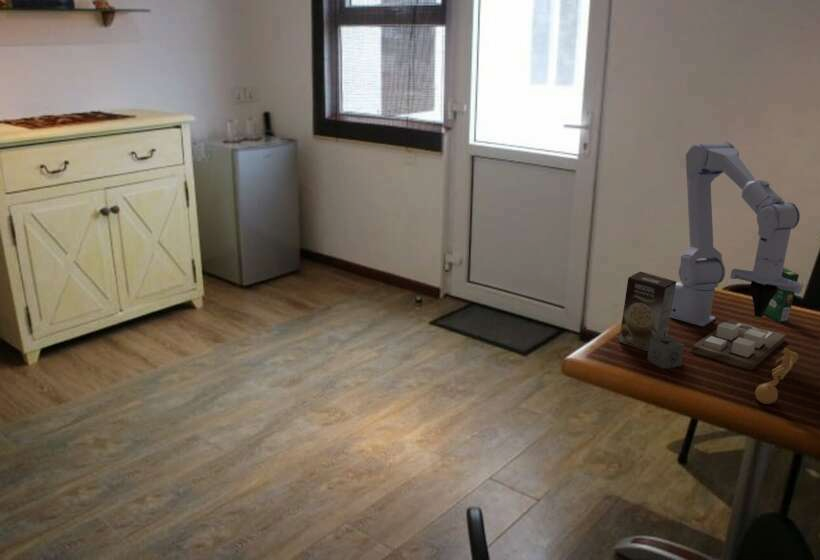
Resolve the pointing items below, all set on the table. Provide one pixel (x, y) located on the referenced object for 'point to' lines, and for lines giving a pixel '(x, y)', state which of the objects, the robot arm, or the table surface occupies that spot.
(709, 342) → the button
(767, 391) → the figurine
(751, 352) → the button
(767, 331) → the board
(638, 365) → the table surface
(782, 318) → the coffee box
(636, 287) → the coffee box
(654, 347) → the grey cube with symbol
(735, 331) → the button
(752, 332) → the button
